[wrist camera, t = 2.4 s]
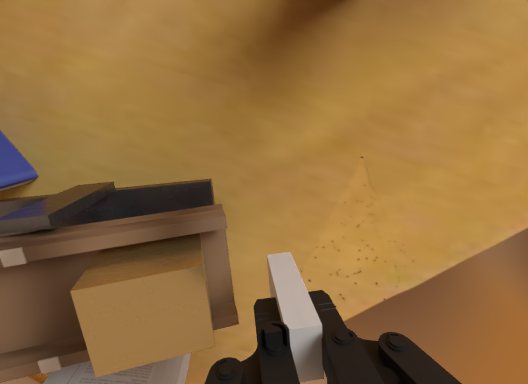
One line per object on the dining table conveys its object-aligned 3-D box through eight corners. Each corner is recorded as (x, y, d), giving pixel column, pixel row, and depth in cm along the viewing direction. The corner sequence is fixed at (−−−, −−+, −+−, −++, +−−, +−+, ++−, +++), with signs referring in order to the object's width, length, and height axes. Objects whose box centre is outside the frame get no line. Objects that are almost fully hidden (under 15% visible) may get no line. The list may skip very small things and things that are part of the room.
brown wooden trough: (-92, 347, 19) (-203, 434, 14) (-143, 243, 17) (-297, 298, 12) (228, 280, 24) (239, 325, 19) (217, 193, 22) (225, 215, 17)
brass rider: (117, 318, 18) (95, 377, 14) (100, 249, 17) (70, 291, 13) (209, 298, 20) (214, 346, 15) (200, 232, 18) (202, 265, 14)
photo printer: (88, 339, 28) (-18, 500, 16) (92, 303, 27) (-18, 445, 15) (191, 350, 30) (163, 504, 18) (198, 316, 29) (173, 454, 17)
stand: (10, 299, 26) (-100, 387, 18) (-27, 195, 24) (-179, 239, 15) (223, 272, 28) (219, 341, 19) (210, 172, 25) (198, 199, 17)
